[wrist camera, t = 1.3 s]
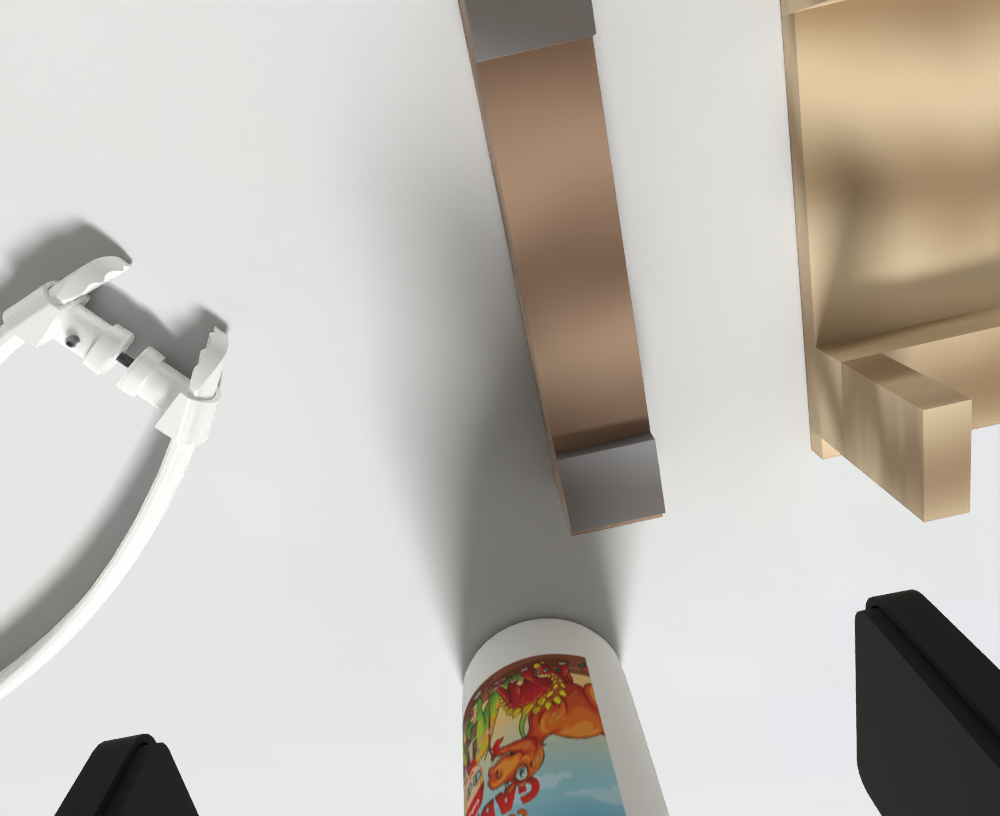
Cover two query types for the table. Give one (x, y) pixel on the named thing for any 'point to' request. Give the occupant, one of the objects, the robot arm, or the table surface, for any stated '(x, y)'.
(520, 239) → the rail
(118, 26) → the table surface
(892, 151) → the wooden cradle stand
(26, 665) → the door handle
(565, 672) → the milk bottle
